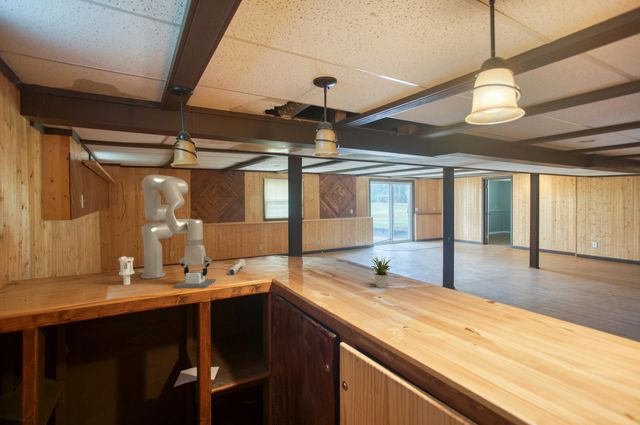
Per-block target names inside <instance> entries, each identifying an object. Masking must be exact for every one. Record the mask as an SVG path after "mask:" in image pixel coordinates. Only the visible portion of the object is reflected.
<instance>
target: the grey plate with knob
mask: <svg viewBox="0 0 640 425" xmlns="http://www.w3.org/2000/svg"><path fill="white" fill-rule="evenodd" d="M193 273H199V272H193ZM215 281H216V282H217V279H216V278H205V281H203V282H201V283H199V284H186V279H184V280H182V281H180V282H178V283H176V284H174V285H173V288H174V289H206V288H208V287H209V285H210V286H212V285H213V284H215V283H216V282H215ZM214 282H215V283H214ZM212 283H213V284H212Z"/></svg>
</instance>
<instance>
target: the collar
mask: <svg viewBox="0 0 640 425" xmlns="http://www.w3.org/2000/svg"><path fill="white" fill-rule="evenodd" d="M193 272H199V273H193ZM205 279H206V276H203V270H191V271H189V273H186V276H185V280H186V284H199V283H201V282H203V281H205Z"/></svg>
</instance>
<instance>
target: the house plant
mask: <svg viewBox="0 0 640 425" xmlns="http://www.w3.org/2000/svg"><path fill="white" fill-rule="evenodd" d="M383 256H384V254H382V256H381V260H379V259H378V257H377V256H374V258H372V260H373V261H372V260H371V262H372V263H373V265H371V267H370V268H372V269H373V270H372V271H376V273H374V281H375V286H376V288H381V289H383V288H385V289H386V288H387V286H388V281H389V276H390V275H389V273H387V271H388V272H390V269H391V268H392V265H388V264H389V263H390V261H391V260H392V259H394V257H391V258H390V259H388V260H387V261H386V256H384V257H383ZM367 257H369V258H370V255H369V256H367Z"/></svg>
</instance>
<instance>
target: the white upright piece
mask: <svg viewBox="0 0 640 425" xmlns="http://www.w3.org/2000/svg"><path fill="white" fill-rule="evenodd" d="M134 260H135V257H133V256H128V257H127V256H126V255H125V256H120V257H119V258H118V262H119V264H120V265H119V267H120V270H119V271H118V276H123V277H122V278H123V285H124V286H125V285H126V286H127V285H131V275H134V274H135V270H134V266H133V265H134V264H133V263H134Z"/></svg>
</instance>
